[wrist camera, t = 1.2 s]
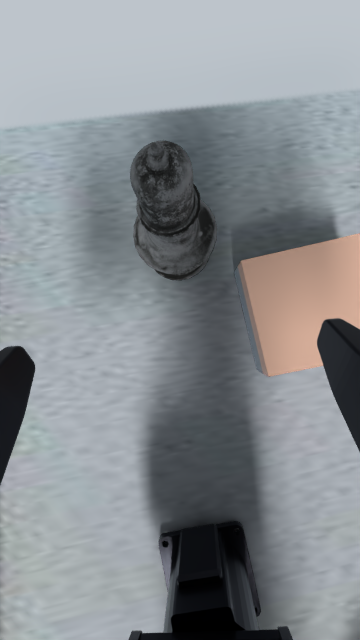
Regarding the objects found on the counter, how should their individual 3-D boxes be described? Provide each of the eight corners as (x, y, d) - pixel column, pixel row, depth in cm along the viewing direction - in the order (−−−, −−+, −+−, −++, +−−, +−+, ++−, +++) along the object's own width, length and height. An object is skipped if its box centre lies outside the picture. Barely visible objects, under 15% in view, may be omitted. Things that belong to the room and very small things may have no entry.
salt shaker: (129, 253, 22) (48, 157, 10) (175, 200, 22) (147, 42, 10) (182, 298, 22) (161, 251, 10) (228, 244, 22) (266, 130, 10)
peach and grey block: (359, 349, 20) (392, 351, 17) (256, 369, 21) (268, 376, 17) (332, 250, 21) (359, 233, 17) (233, 272, 21) (241, 260, 18)
